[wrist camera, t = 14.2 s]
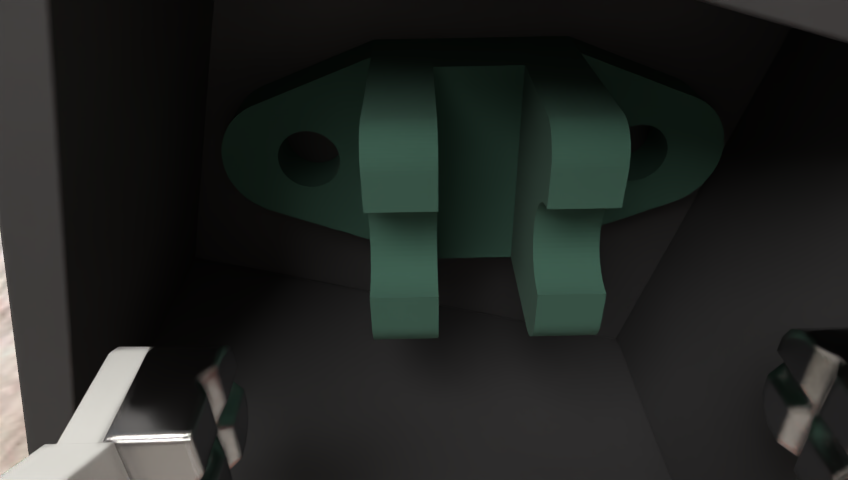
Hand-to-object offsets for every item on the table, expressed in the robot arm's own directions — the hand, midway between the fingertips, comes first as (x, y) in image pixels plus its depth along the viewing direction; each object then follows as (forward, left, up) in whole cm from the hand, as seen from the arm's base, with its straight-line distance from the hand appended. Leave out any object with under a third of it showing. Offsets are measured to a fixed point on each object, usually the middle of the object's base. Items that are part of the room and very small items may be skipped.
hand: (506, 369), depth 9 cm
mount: (0, 0, -8) cm, 8 cm away
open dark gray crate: (0, 0, -8) cm, 8 cm away
